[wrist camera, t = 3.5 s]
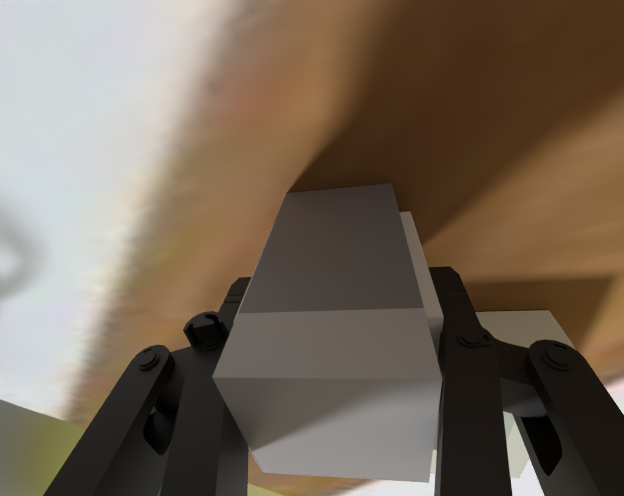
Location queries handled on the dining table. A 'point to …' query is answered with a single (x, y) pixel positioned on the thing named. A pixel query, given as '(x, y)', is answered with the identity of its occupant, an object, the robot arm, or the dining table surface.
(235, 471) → the robot arm
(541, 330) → the socket plate
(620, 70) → the dining table surface
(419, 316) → the plug
